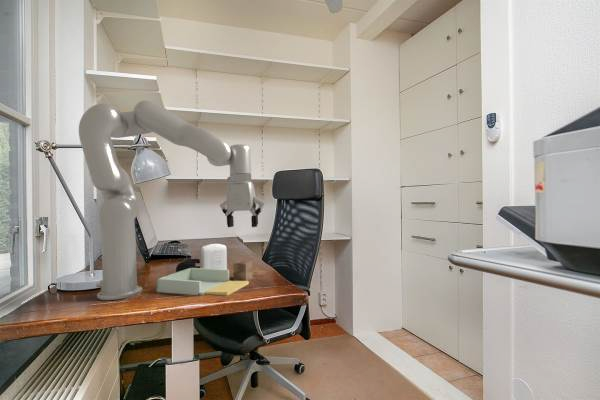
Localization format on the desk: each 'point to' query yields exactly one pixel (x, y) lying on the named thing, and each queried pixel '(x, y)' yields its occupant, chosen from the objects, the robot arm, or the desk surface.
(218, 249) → the photo printer
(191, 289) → the pale green tray
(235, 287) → the tailgate
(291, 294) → the desk surface
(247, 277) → the walnut block
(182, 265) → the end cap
